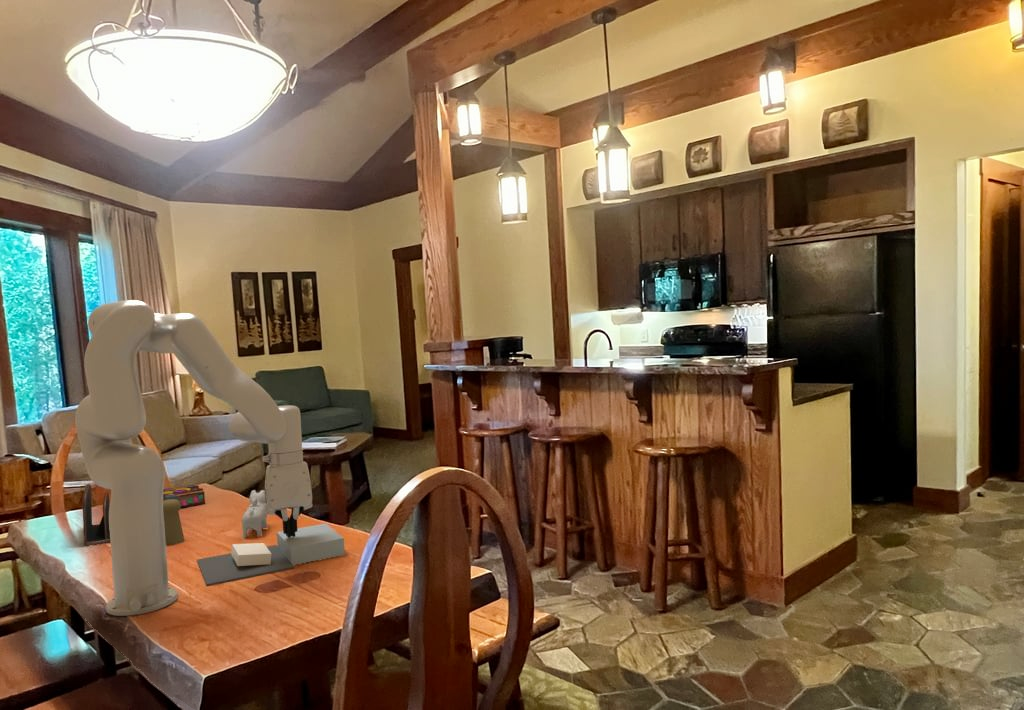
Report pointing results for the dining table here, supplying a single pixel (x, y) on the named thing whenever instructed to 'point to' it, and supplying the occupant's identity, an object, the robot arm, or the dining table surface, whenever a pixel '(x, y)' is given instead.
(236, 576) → the mat
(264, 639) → the dining table surface
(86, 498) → the letter holder
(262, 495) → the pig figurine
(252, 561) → the cream rounded box
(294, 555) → the block
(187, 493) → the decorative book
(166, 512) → the olive green upright block
